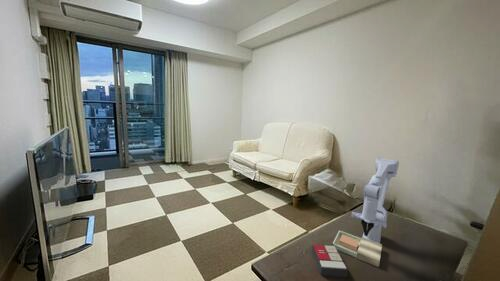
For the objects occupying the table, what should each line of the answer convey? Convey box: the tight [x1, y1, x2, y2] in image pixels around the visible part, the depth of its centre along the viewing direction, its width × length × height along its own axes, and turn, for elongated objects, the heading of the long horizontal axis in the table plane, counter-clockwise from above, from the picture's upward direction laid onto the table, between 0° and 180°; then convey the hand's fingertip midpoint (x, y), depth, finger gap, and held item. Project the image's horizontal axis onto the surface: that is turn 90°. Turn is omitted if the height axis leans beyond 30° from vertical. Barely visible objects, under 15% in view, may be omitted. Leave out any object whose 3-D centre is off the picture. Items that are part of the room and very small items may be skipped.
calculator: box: [311, 244, 349, 278], centre depth 92 cm, size 11×4×15 cm
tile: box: [339, 235, 359, 252], centre depth 104 cm, size 6×8×2 cm
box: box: [331, 230, 362, 259], centre depth 104 cm, size 14×11×2 cm
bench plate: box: [356, 236, 383, 268], centre depth 98 cm, size 14×9×3 cm, turn 144°
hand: (366, 234), depth 99 cm, fingers closed
